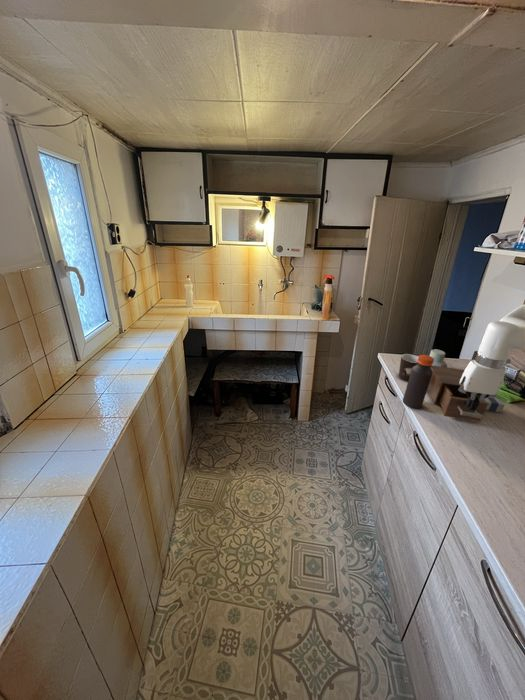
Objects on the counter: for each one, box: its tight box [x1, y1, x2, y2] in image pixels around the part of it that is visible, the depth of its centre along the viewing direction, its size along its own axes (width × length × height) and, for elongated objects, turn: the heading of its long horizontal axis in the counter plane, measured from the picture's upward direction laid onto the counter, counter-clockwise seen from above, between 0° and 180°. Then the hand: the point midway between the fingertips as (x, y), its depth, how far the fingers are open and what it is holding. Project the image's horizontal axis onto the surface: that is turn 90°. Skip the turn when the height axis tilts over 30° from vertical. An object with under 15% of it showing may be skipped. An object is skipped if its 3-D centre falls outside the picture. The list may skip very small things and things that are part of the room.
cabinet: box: [427, 366, 465, 406], centre depth 113 cm, size 15×13×10 cm
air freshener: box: [429, 348, 448, 368], centre depth 133 cm, size 11×8×10 cm
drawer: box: [438, 385, 488, 423], centre depth 102 cm, size 18×11×8 cm, turn 166°
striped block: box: [483, 397, 505, 413], centre depth 107 cm, size 6×4×4 cm
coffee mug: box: [398, 353, 419, 383], centre depth 124 cm, size 12×9×10 cm
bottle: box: [402, 354, 434, 409], centre depth 105 cm, size 7×7×20 cm
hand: (470, 408), depth 96 cm, fingers closed
